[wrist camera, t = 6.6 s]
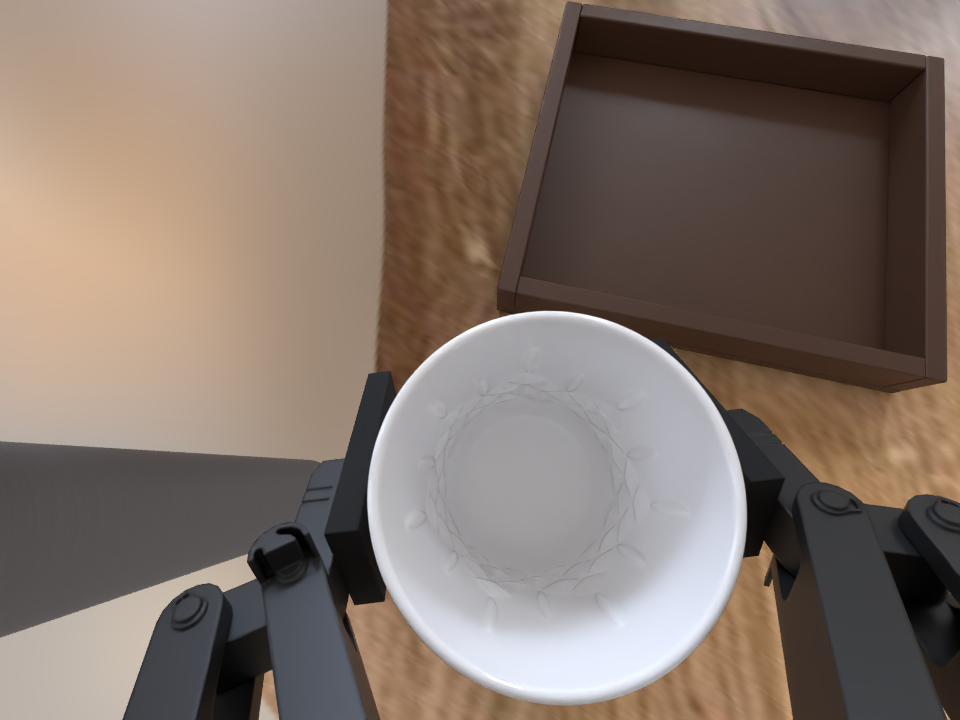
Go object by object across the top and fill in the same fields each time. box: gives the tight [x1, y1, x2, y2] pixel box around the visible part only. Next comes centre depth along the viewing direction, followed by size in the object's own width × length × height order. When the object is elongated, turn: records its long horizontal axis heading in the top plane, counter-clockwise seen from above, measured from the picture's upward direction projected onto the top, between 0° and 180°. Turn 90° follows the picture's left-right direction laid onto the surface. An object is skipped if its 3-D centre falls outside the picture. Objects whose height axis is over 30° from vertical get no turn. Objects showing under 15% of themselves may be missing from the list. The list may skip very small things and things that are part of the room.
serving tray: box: [497, 2, 947, 393], centre depth 21 cm, size 18×16×2 cm
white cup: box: [367, 311, 747, 706], centre depth 14 cm, size 8×8×10 cm
